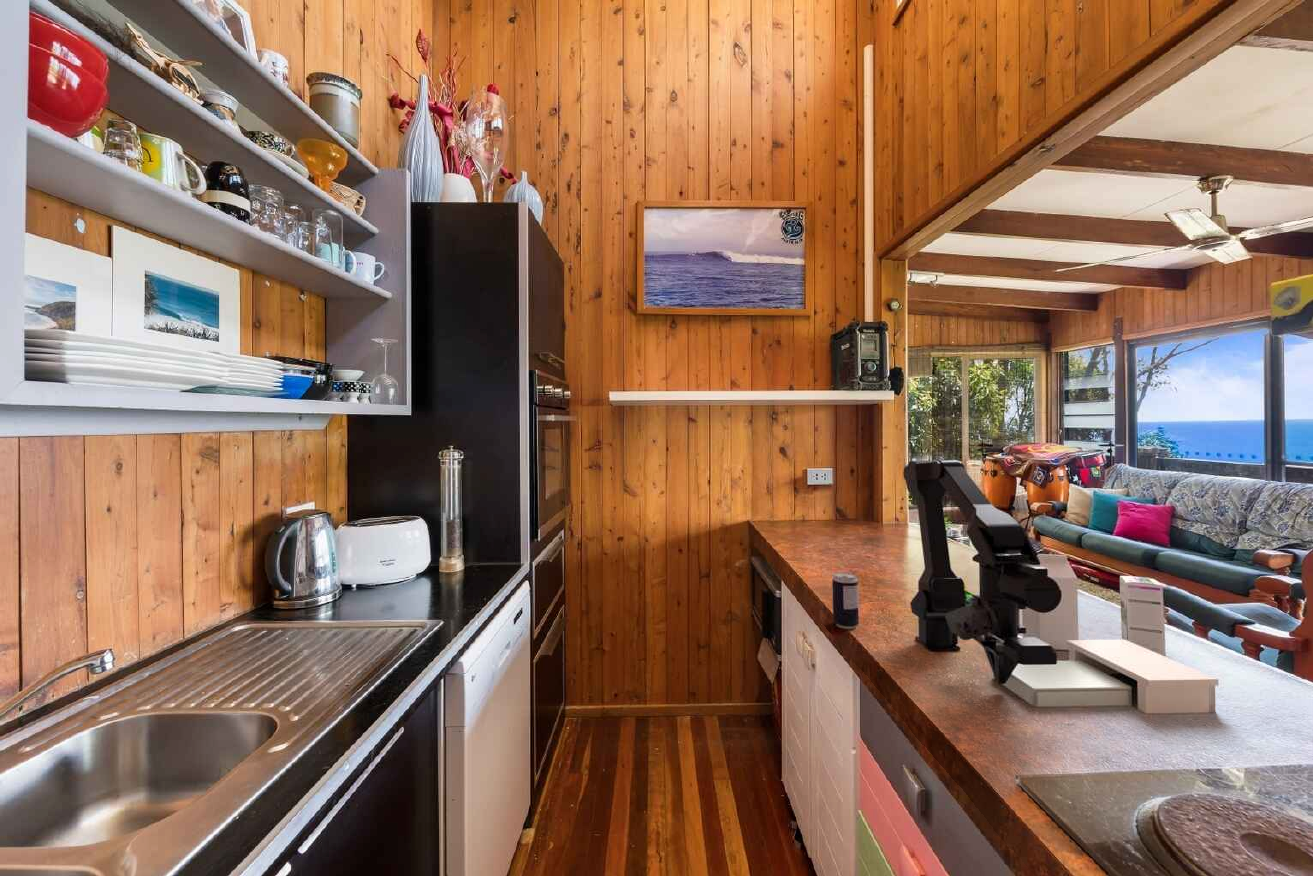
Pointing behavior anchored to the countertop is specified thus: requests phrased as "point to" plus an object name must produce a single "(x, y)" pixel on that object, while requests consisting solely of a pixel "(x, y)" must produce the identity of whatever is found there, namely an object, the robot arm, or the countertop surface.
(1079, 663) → the cream rectangular slab
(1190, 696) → the overhang
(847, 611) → the beverage can
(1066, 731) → the countertop surface
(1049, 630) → the milk carton
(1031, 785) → the countertop surface
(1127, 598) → the syrup box
